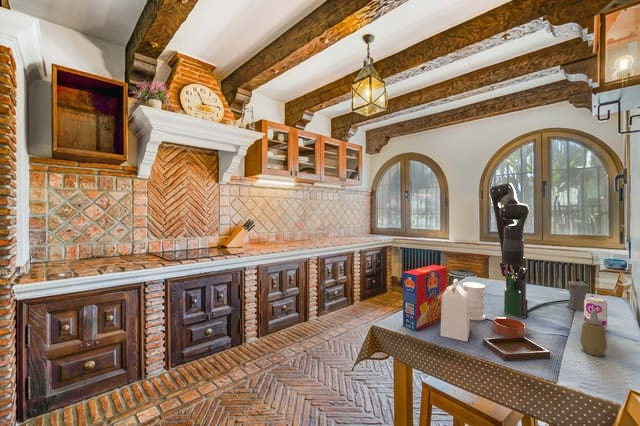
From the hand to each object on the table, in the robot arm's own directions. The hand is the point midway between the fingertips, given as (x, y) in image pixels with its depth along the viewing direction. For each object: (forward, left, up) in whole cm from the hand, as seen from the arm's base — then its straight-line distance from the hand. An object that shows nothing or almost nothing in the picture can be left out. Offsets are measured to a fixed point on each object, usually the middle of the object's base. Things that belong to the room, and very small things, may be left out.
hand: (512, 288), depth 125 cm
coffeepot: (-73, -38, -26) cm, 86 cm away
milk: (+18, -14, -26) cm, 34 cm away
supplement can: (-54, -12, -26) cm, 61 cm away
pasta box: (+26, -29, -26) cm, 47 cm away
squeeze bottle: (-29, +9, -26) cm, 40 cm away
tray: (+2, +4, -26) cm, 26 cm away
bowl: (-8, -12, -26) cm, 29 cm away
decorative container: (-3, -32, -26) cm, 41 cm away
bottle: (0, 0, -11) cm, 11 cm away
